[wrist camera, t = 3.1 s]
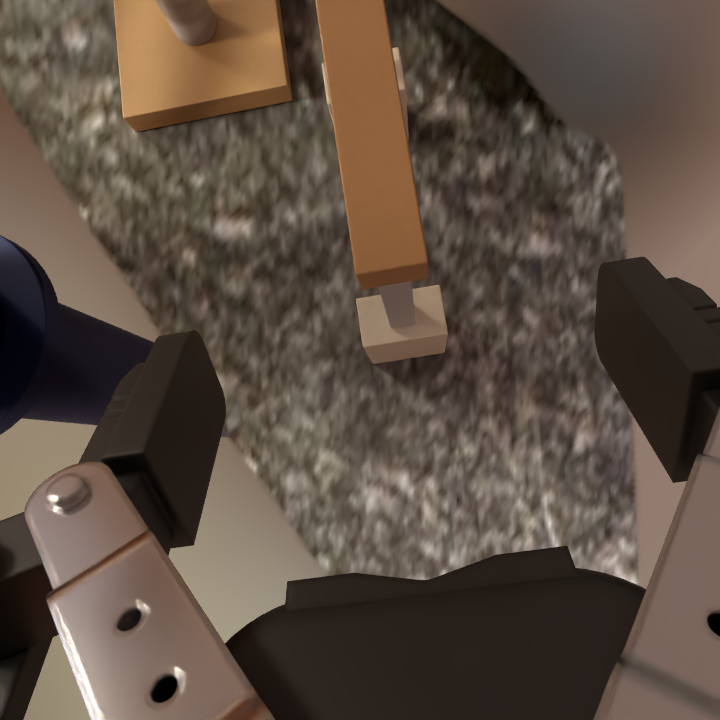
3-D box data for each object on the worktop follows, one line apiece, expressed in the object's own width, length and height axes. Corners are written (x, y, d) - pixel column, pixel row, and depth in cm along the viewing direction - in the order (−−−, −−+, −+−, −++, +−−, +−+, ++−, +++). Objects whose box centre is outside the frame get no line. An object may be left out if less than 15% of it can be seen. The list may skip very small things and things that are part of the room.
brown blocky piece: (372, 364, 33) (334, 299, 19) (336, 118, 36) (279, -91, 22) (444, 352, 33) (456, 279, 19) (403, 105, 35) (387, -116, 22)
